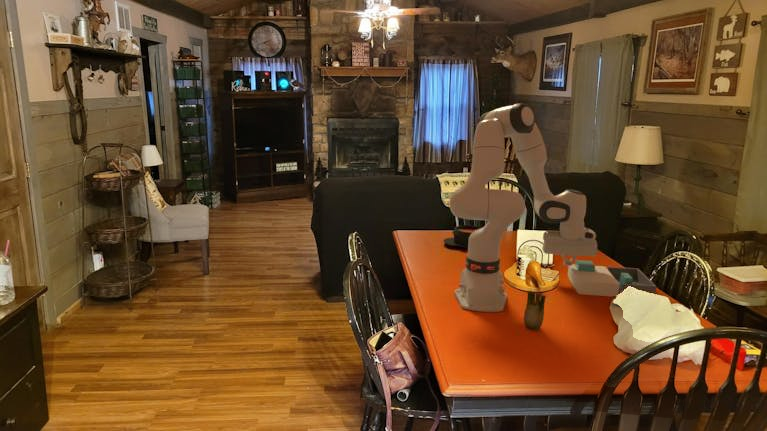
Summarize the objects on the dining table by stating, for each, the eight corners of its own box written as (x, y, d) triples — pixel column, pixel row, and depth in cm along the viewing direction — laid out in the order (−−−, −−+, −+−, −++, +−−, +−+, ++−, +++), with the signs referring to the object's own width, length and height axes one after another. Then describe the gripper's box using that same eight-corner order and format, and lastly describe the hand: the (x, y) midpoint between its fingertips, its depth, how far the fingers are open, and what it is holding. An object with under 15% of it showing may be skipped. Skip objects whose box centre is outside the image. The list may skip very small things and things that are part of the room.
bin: (654, 299, 197) (656, 286, 196) (618, 296, 199) (620, 283, 198) (636, 280, 217) (638, 268, 216) (604, 278, 218) (605, 266, 217)
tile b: (594, 272, 210) (595, 265, 209) (578, 271, 211) (579, 264, 210) (590, 267, 216) (591, 261, 215) (575, 266, 217) (575, 260, 216)
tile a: (623, 293, 200) (630, 293, 200) (625, 277, 199) (632, 278, 199) (618, 287, 206) (625, 288, 206) (620, 272, 205) (627, 273, 204)
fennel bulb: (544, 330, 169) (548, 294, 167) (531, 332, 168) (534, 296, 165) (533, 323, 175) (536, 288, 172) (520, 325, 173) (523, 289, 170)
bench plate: (617, 296, 199) (619, 283, 198) (578, 294, 201) (579, 281, 199) (603, 278, 218) (605, 266, 217) (567, 275, 220) (568, 264, 219)
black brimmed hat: (490, 240, 269) (491, 224, 267) (500, 251, 251) (502, 234, 249) (440, 240, 267) (441, 223, 265) (446, 251, 249) (447, 233, 247)
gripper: (545, 232, 209) (541, 266, 212) (600, 234, 207) (596, 269, 210) (542, 227, 215) (539, 261, 218) (596, 230, 213) (592, 264, 216)
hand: (567, 265), depth 214 cm, fingers closed
